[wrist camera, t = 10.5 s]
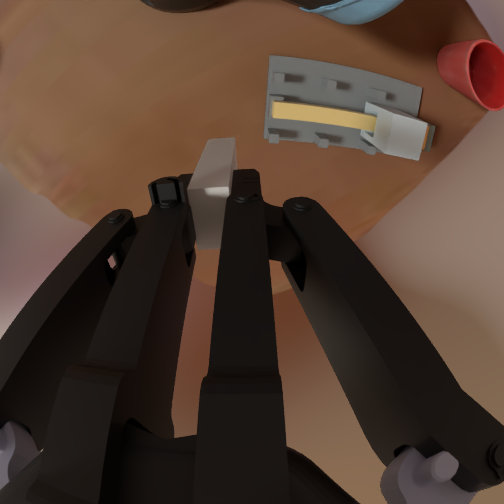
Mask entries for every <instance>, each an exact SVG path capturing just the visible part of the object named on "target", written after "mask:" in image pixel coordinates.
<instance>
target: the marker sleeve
mask: <svg viewBox="0 0 504 504" xmlns="http://www.w3.org/2000/svg"><path fill="white" fill-rule="evenodd" d="M364 113H367V114H372V115H376V116H377V120H376V125H375V131H374V132H373V131H368V130H362V129H361V134H360V135H361V136H362V137H364V138H365V139H366V140H368V141H369V142H370V143H372V144H373V145H374V146H376V147H377V148H378V149H380V150H381V151H382V152H383V153H385V154H388V155H394V156H398V157H403V158H408V159H413V160H417V161H419V158H420V154H421V150H422V146H423V142H424V138H425V133H426V129H427V124H428V123H426V122H424V121H422V120H420V119H418V118H416V117H413V116H411V115H409V114H407V113H404V112H402V111H400V110H397V109H394V108H390V107H386V106H382V105H378V104H374V103H370V102H366V105H365V111H364Z"/></svg>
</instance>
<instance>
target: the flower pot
mask: <svg viewBox="0 0 504 504" xmlns="http://www.w3.org/2000/svg"><path fill="white" fill-rule="evenodd" d="M437 67H438V71H439V74H440V76H441V77H442V79H443V80H444V82H445V83H446V84H448V85H449V86H450V87H452V88H454V89H456V90H457V91H459V92H460V93H462V94H464V95H465V96H467V97H468V98H470V99H472V100H473V101H475V102H476V103H478V104H479V105H481V106H482V107H484V108H486V109H488V110H491V111H497V110H501V109H502V108H504V53H503V52H502V51H501V49H500V48H499V47H498V46H497V45H496V44H494V43H493V42H491V41H489V40H485V39H478V40H469V41H463V42H457V43H453V44H449V45H445V46H444V47H442V48H441V49H440V51H439V53H438V56H437Z"/></svg>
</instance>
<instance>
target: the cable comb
mask: <svg viewBox="0 0 504 504" xmlns="http://www.w3.org/2000/svg"><path fill="white" fill-rule="evenodd" d="M421 93H422V88H421V87H418V86H415V85H412V84H409V83H406V82H403V81H400V80H397V79H394V78H390V77H387V76H383V75H380V74H376V73H372V72H368V71H364V70H360V69H356V68H352V67H347V66H342V65H337V64H332V63H327V62H321V61H315V60H308V59H301V58H293V57H284V56H274V55H269V69H268V82H267V96H266V109H265V122H264V135H263V137H264V139H268V141H269V143H278V142H279V140H289V141H300V142H310V143H316V144H317V146H318V147H321V148H328V145H335V146H342V147H349V148H356V149H362V150H363V151H364V152H366V153H367V154H371V155H375V152H380V153H383V152H382V151H381V150H380V149H378V148H377V147H376V146H374V145H373V144H372V143H370V142H369V141H368V140H366V139H365V138H364V137H362V136H361V135H360V134H361V129H362V130H368V131H373V132H374V131H375V125H376V120H377V116H376V115H372V114H367V113H364V111H365V105H366V102H370V103H374V104H378V105H382V106H386V107H390V108H394V109H397V110H400V111H402V112H404V113H407V114H409V115H411V116H413V117H416V118H417V115H418V110H419V104H420V99H421ZM418 119H419V118H418ZM420 120H421V119H420ZM422 121H424V120H422ZM424 122H426V121H424ZM426 123H428V122H426ZM435 127H436V126H434V125H432V124H430V123H428V124H427V129H426V133H425V138H424V142H423V146H422V150H424V151H428V152H430V148H431V144H432V140H433V135H434V131H435Z"/></svg>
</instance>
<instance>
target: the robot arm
mask: <svg viewBox="0 0 504 504" xmlns="http://www.w3.org/2000/svg"><path fill="white" fill-rule="evenodd" d="M140 1H142V2H143V3H145V4H146V5H148V6H150V7H152V8H154V9H157V10H160V11H163V12H170V13H186V12H193V11H197V10H201V9H204V8H207V7H209V6H212V5H214V4H216V3H218V2H219V1H221V0H140ZM283 1H285V2H288V3H291V4H293V5H296V6H299V8H300V9H301V10H303V11H306V12H310V13H316V14H319V15H321V16H324V17H326V18H329V19H331V20H333V21H335V22H338V23H341V24H345V25H351V24H356V25H358V24H364V23H367V22H370V21H373V20H375V19H377V18H379V17H381V16H383V15H385V14H386V13H388V12H390V11H391V10H392V9H394V8H395V7H397V6H398V5H399V4H401V3H402V2H403V1H404V0H283ZM148 189H149V193H150V197H151V202H152V207H151V208H150V210H149V212H148V214H147V215H143V216H140V217H136V218H134V217H133V214H132V212H131V211H130V210H128V209H118V210H114V211H112V212H111V213H109V214H107V215H106V216H105V217H103V218H102V219H101V220H100V221H99V222H98V223H97V224H96V225H95V226H94V227H93V228H92V229H91V230H90V231H89V233H87V234H86V235H85V237H83V238H82V240H81V241H80V242H79V243H78V244H77V245H76V246H75V247H74V248H73V249H72V250H71V251H70V252H69V253H68V255H67V256H66V257H65V258H64V259H63V260H62V261H61V262H60V263H59V265H58V266H57V267H56V268H55V269H54V270H53V271H52V272H51V274H50V275H49V276H48V277H47V278H46V280H45V281H44V282H43V283H42V284H41V286H40V287H39V288H38V289H37V291H36V292H35V293H34V294H33V296H32V297H31V298H30V299H29V301H28V302H27V303H26V304H25V306H24V307H23V309H22V310H21V311H20V312H19V314H18V315H17V316H16V318H15V319H14V321H13V322H12V323H11V325H10V326H9V328H8V329H7V331H6V332H5V333H4V335H3V337H2V338H1V339H0V504H360V503H359V502H357V501H356V500H355V499H354V498H353V497H351V496H350V495H349V494H348V493H347V492H345V491H344V490H343V489H342V488H341V487H340V486H339V485H338V484H337V483H335V482H334V481H333V480H332V479H331V478H330V477H329V476H328V475H327V474H325V473H324V472H323V471H322V470H321V469H320V468H319V467H318V466H317V465H316V464H315V463H314V462H312V461H311V460H310V459H309V458H307V457H306V456H304V455H303V454H301V453H299V452H297V451H296V450H294V449H292V448H289V447H287V446H286V432H285V417H284V405H283V391H282V382H281V376H280V374H279V369H278V358H277V345H276V333H275V321H274V309H273V298H272V287H271V276H270V265H269V259H270V260H275V261H281V265H282V268H283V270H284V272H285V274H286V276H287V278H288V280H289V282H290V284H291V286H292V288H293V290H294V292H295V293H296V295H297V298H298V299H299V301H300V303H301V305H302V307H303V309H304V311H305V313H306V315H307V317H308V319H309V321H310V323H311V325H312V327H313V329H314V331H315V333H316V335H317V337H318V339H319V341H320V343H321V345H322V347H323V349H324V351H325V353H326V355H327V357H328V360H329V362H330V364H331V366H332V367H333V370H334V372H335V373H336V376H337V378H338V380H339V382H340V384H341V386H342V388H343V390H344V392H345V394H346V397H347V398H348V401H349V403H350V405H351V407H352V409H353V411H354V413H355V415H356V417H357V420H358V422H359V424H360V426H361V428H362V430H363V432H364V434H365V436H366V438H367V440H368V442H369V444H370V445H371V447H372V449H373V450H374V452H375V453H376V455H377V456H378V457H379V459H380V460H381V461H382V463H383V464H384V465H385V466H386V467H387V468H386V469H385V471H384V472H383V475H382V477H381V483H380V487H381V492H382V494H383V496H384V498H385V500H386V501H387V503H388V504H469V503H470V501H471V500H472V499H473V497H474V496H475V494H476V493H477V492H478V491H480V490H484V489H487V488H490V487H493V486H496V485H498V484H500V483H502V482H503V481H504V426H503V425H502V424H501V423H500V422H499V421H497V420H496V419H495V418H494V417H493V416H492V415H491V414H490V413H488V412H487V411H486V410H485V409H484V408H483V407H481V406H480V405H479V404H478V403H477V402H476V401H475V400H474V399H472V398H471V397H470V396H469V395H468V394H467V393H466V392H464V391H463V390H462V389H461V387H460V386H459V384H458V382H457V381H456V379H455V378H454V376H453V374H452V373H451V371H450V370H449V368H448V367H447V365H446V364H445V362H444V361H443V359H442V357H441V356H440V354H439V353H438V352H437V350H436V349H435V347H434V346H433V344H432V343H431V341H430V340H429V339H428V337H427V336H426V334H425V333H424V331H423V330H422V329H421V327H420V326H419V324H418V323H417V322H416V320H415V319H414V317H413V316H412V315H411V313H410V312H409V311H408V309H407V308H406V307H405V305H404V304H403V303H402V301H401V300H400V299H399V297H398V296H397V295H396V294H395V292H394V291H393V290H392V288H391V287H390V286H389V285H388V284H387V282H386V281H385V279H384V278H383V277H382V276H381V275H380V273H379V272H378V271H377V270H376V268H375V267H374V266H373V265H372V263H371V262H370V261H369V260H368V259H367V257H366V256H365V255H364V254H363V253H362V251H361V250H360V249H359V248H358V247H357V246H356V245H355V243H354V242H353V241H352V240H351V239H350V237H349V236H348V235H347V234H346V233H345V232H344V231H343V229H342V228H341V227H340V226H339V225H338V224H337V223H336V221H335V220H334V219H333V218H332V217H331V216H330V215H329V214H328V213H327V212H326V210H325V209H324V208H323V207H322V206H321V205H320V204H319V203H318V202H316V201H315V200H312V199H310V198H307V197H305V198H304V197H294V198H290V199H288V200H286V201H285V202H284V204H283V207H278V206H273V205H270V204H268V203H266V202H265V201H264V200H263V197H262V194H261V184H260V175H259V172H258V171H256V170H255V169H240V170H237V159H236V144H235V137H233V138H218V139H208V141H207V144H206V146H205V148H204V150H203V153H202V155H201V157H200V160H199V162H198V164H197V166H196V169H195V171H194V173H193V174H182V175H180V176H179V177H164V178H160V179H157V180H155V181H153V182H151V183H150V184H149V185H148ZM195 240H196V243H197V249H198V250H201V249H220V256H219V265H218V274H217V283H216V293H215V303H214V313H213V324H212V334H211V345H210V358H209V368H208V374H207V376H205V377H204V378H203V380H202V383H201V390H200V398H199V411H198V425H197V435H191V436H185V437H179V438H174V426H173V422H172V418H171V408H172V399H173V392H174V385H175V377H176V370H177V363H178V356H179V350H180V343H181V336H182V330H183V325H184V319H185V313H186V307H187V302H188V296H189V291H190V285H191V280H192V275H193V270H194V265H195V260H196V253H195V248H194V245H195ZM111 255H112V256H113V258H114V261H115V263H116V265H115V266H114V267H113V268H111V267H110V265H109V263H108V259H109V258H110V256H111ZM42 449H43V451H42V452H40V451H41V450H42Z"/></svg>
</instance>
